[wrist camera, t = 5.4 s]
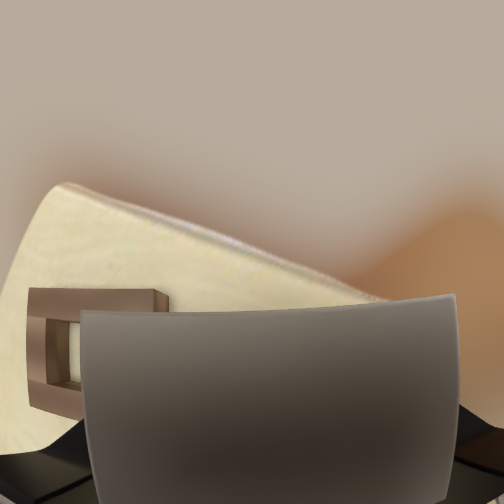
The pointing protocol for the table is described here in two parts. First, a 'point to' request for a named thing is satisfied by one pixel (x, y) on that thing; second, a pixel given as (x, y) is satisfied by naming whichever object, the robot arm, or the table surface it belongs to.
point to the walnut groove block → (57, 339)
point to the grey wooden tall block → (273, 404)
